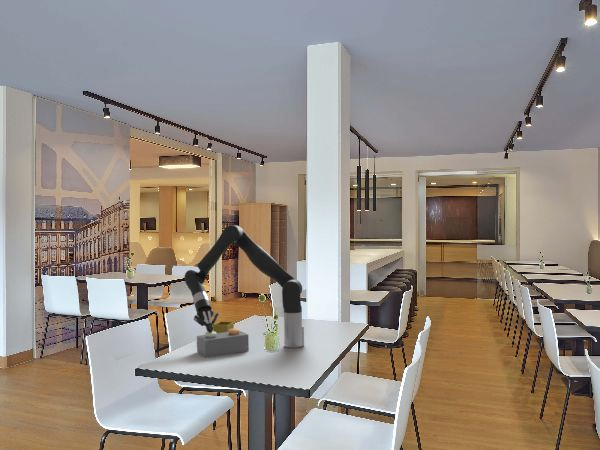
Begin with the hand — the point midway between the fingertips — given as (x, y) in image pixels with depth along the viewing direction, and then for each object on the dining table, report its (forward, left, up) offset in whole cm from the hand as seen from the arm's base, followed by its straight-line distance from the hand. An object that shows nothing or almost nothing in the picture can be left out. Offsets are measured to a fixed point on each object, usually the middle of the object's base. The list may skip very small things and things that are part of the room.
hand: (210, 331), depth 231 cm
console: (-6, 0, -11) cm, 12 cm away
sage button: (0, 0, -4) cm, 4 cm away
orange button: (-12, 0, -4) cm, 13 cm away
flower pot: (-16, -24, -11) cm, 31 cm away
